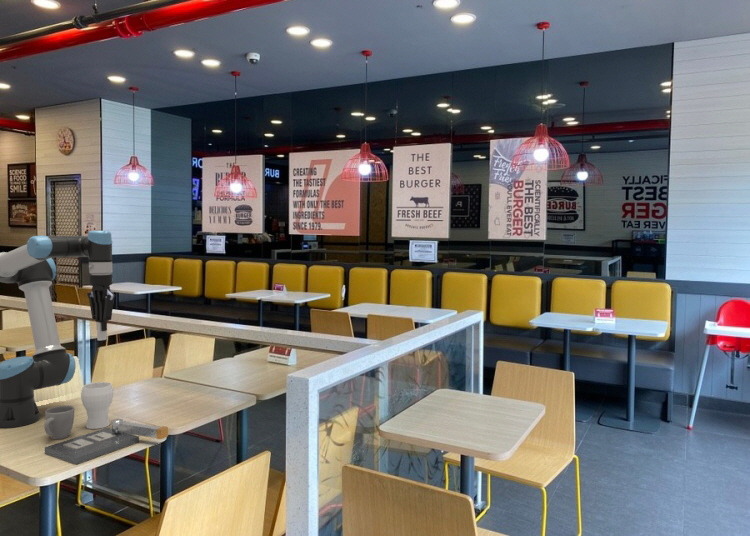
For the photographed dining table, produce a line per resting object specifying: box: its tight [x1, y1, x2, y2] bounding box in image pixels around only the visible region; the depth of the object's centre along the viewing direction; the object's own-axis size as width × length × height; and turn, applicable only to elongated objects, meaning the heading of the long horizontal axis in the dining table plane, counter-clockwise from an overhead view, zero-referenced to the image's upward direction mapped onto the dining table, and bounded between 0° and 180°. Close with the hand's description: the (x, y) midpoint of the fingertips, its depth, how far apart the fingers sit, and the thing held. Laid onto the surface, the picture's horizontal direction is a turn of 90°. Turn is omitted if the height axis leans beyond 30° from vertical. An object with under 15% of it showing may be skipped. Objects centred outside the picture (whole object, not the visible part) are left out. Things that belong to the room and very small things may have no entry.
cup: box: [80, 381, 114, 430], centre depth 207 cm, size 11×11×15 cm
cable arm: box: [111, 418, 169, 440], centre depth 192 cm, size 22×4×4 cm, turn 70°
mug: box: [43, 405, 75, 440], centre depth 194 cm, size 12×9×10 cm
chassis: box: [44, 427, 140, 465], centre depth 186 cm, size 17×22×2 cm
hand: (102, 339), depth 202 cm, fingers closed
